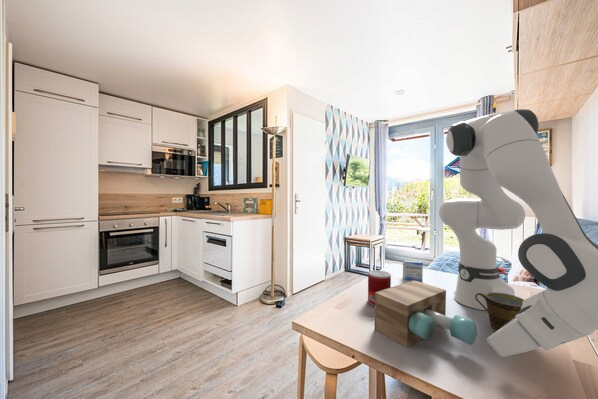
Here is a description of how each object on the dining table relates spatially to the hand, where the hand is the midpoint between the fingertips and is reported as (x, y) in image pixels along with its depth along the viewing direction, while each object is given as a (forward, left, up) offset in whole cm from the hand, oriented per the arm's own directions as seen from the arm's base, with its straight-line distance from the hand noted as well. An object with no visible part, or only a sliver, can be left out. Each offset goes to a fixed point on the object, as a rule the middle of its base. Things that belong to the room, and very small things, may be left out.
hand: (491, 341), depth 59 cm
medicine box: (-23, -57, -6) cm, 62 cm away
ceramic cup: (-18, -12, -6) cm, 22 cm away
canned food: (+7, -37, -6) cm, 38 cm away
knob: (+4, -10, -3) cm, 11 cm away
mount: (+6, -17, -6) cm, 19 cm away
